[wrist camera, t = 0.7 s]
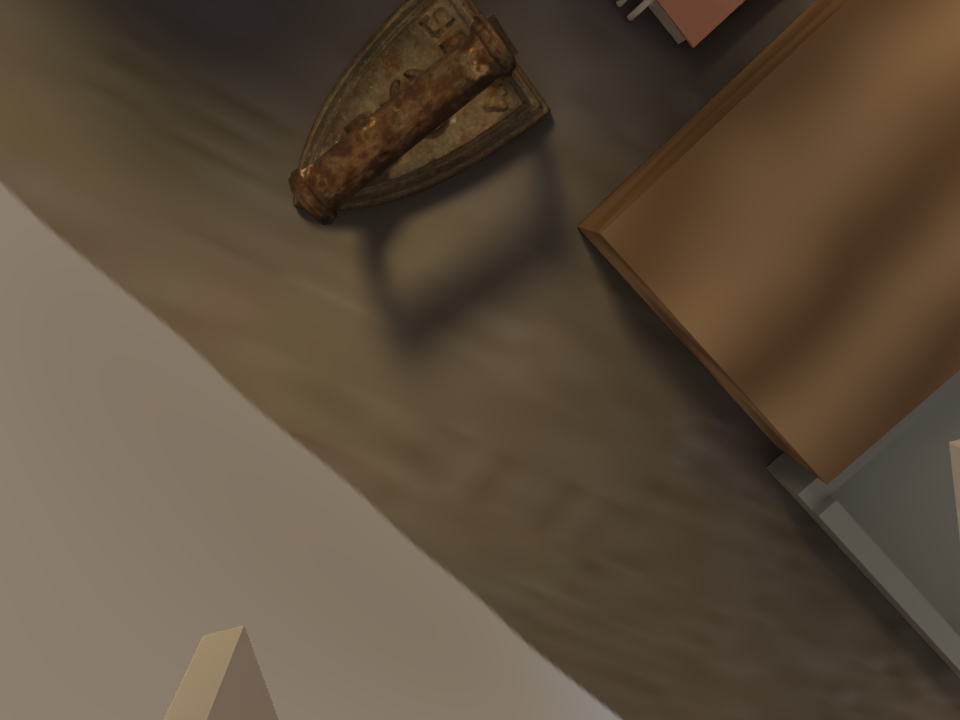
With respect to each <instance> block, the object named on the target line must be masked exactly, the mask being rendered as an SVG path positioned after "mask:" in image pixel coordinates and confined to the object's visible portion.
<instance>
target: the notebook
mask: <svg viewBox="0 0 960 720" xmlns="http://www.w3.org/2000/svg"><path fill="white" fill-rule="evenodd" d="M626 1H627V0H618V1H617V2H616V4H617V6H618V7H621V6H622V5H623V4H624V3H625V2H626ZM744 1H745V0H643V2H642V3H641V4H639V5H638V6H637V7H636V8H635V9H634V10H633V11H632V12H631V13H630V14H629V15H627V18H628V20H630V21H632V20H633V19H634V18H635V17H637V16H638V15H639V14H640V13H641V12H642V11H643V10H644V9H645V8H646V7H649V8H650V9H651V11H652V12H653V13H654V14H655V16H656V17H657V18H658V20H659V21H660V22H661V23H662V25H663V26H664V27H665V28H666V30H667V31H668V32H669V33H670V35H671V36H672V37H673V39H674V40H675V41H676V42H677V44H679V43H681V42H683V41H685V40H687V42H688V43H689V44H690V45H691V47H692V48H694V47H695V46H696V45H697V44H698V43H699V42H700V41H702V40H703V39H704V38H705V37H706V36H707V35H708V34H709V33H710V32H711V31H712V30H713V29H715V28H716V27H717V26H718V25H719V24H720V23H721V22H722V21H723V20H724V19H725V18H726V17H728V16H729V15H730V14H731V13H732V12H733V11H734V10H735V9H736V8H737V7H738V6H739V5H741V4H742V3H743V2H744Z"/></svg>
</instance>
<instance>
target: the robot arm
mask: <svg viewBox="0 0 960 720" xmlns="http://www.w3.org/2000/svg"><path fill="white" fill-rule="evenodd" d="M949 447H950V456H951V465H952V474H953V482H954V491H955V500H956V509H957V518H958V527H959V536H960V439H959V440H955V441H951V442H949ZM163 720H278V717H277V714H276V711H275V709H274V706H273V703H272V700H271V698H270V695H269V692H268V689H267V687H266V684H265V681H264V679H263V676H262V673H261V670H260V667H259V665H258V662H257V659H256V657H255V654H254V651H253V648H252V645H251V643H250V640H249V637H248V635H247V632H246V629H245V626H244V625H242V626H239V627H234V628H231V629H227V630H223V631H219V632H215V633H212V634H208V635H204V636H202V639H201V641H200V643H199V645H198V647H197V649H196V651H195V653H194V656H193V658H192V660H191V662H190V664H189V666H188V668H187V670H186V673H185V675H184V677H183V679H182V681H181V683H180V685H179V688H178V690H177V692H176V694H175V696H174V698H173V700H172V702H171V704H170V707H169V709H168V711H167V713H166V715H165V717H164V719H163Z"/></svg>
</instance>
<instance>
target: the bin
mask: <svg viewBox="0 0 960 720" xmlns="http://www.w3.org/2000/svg"><path fill="white" fill-rule="evenodd" d="M959 439H960V370H959V371H958V372H957V373H955V374H954V375H953V376H952V377H951V378H950V379H949V380H947V381H946V382H945V383H944V384H943V385H942V386H940V387H939V388H938V389H937V390H936V391H935V392H934V393H932V394H931V395H930V396H929V397H928V398H927V399H925V400H924V401H923V402H922V403H921V404H920V405H919V406H917V407H916V408H915V409H914V410H913V411H912V412H910V413H909V414H908V415H907V416H906V417H905V418H904V419H902V420H901V421H900V422H899V423H898V424H897V425H895V426H894V427H893V428H892V429H891V430H890V431H889V432H887V433H886V434H885V435H884V436H883V437H882V438H880V439H879V440H878V441H877V442H876V443H875V444H874V445H872V446H871V447H870V448H869V449H868V450H867V451H865V452H864V453H863V454H862V455H861V456H860V457H859V458H857V459H856V460H855V461H854V462H853V463H852V464H850V465H849V466H848V467H847V468H846V469H845V470H844V471H842V472H841V473H840V474H839V475H838V476H837V477H835V478H834V479H833V480H832V481H831V482H830V483H829V484H827V485H826V484H825V483H824V482H822V481H821V480H820V479H819V478H817V477H816V476H815V475H813V474H812V473H811V472H809V471H808V470H807V469H805V468H804V467H803V466H801V465H800V464H799V463H797V462H796V461H795V460H794V459H792V458H791V457H790V456H788V455H787V454H786V453H784V452H783V453H782V454H781V455H780V456H779V457H778V458H777V459H775V460H774V461H773V462H772V463H771V464H770V465H769V466H768V467H766V468H767V469H768V471H769V472H770V473H771V474H772V475H773V476H774V477H775V478H776V479H777V480H778V481H779V483H780V484H781V485H782V486H783V487H784V488H785V489H786V490H787V491H788V492H789V493H790V495H791V496H792V497H793V498H794V499H795V500H796V501H797V502H798V503H799V504H800V505H801V507H802V508H803V509H804V510H805V511H806V512H807V513H808V514H809V515H810V516H811V517H812V519H813V520H814V521H815V522H816V523H817V524H818V525H819V526H820V527H821V528H822V529H823V531H824V532H825V533H826V534H827V535H828V536H829V537H830V538H831V539H832V540H833V541H834V543H835V544H836V545H837V546H838V547H839V548H840V549H841V550H842V551H843V552H844V553H845V555H846V556H847V557H848V558H849V559H850V560H851V561H852V562H853V563H854V564H855V565H856V567H857V568H858V569H859V570H860V571H861V572H862V573H863V574H864V575H865V576H866V577H867V579H868V580H869V581H870V582H871V583H872V584H873V585H874V586H875V587H876V588H877V589H878V591H879V592H880V593H881V594H882V595H883V596H884V597H885V598H886V599H887V600H888V601H889V602H890V604H891V605H892V606H893V607H894V608H895V609H896V610H897V611H898V612H899V613H900V614H901V616H902V617H903V618H904V619H905V620H906V621H907V622H908V623H909V624H910V625H911V626H912V628H913V629H914V630H915V631H916V632H917V633H918V634H919V635H920V636H921V637H922V638H923V640H924V641H925V642H926V643H927V644H928V645H929V646H930V647H931V648H932V649H933V650H934V652H935V653H936V654H937V655H938V656H939V657H940V658H941V659H942V660H943V661H944V662H945V664H946V665H947V666H948V667H949V668H950V669H951V670H952V671H953V672H954V673H955V674H956V675H957V676H958V677H959V678H960V536H959V527H958V518H957V509H956V500H955V491H954V482H953V474H952V465H951V456H950V447H949V442H951V441H955V440H959Z"/></svg>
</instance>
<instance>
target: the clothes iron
mask: <svg viewBox="0 0 960 720" xmlns="http://www.w3.org/2000/svg"><path fill="white" fill-rule="evenodd" d="M517 53H518V51H517V50H516V48H515V47H514V45H513V44H512V42H511V40H510V39H509V37H508V36H507V34H506V33H505V31H504V30H503V29H502V27H501V25H500V24H499V22H498V20H497V19H496V17H495V15H494V16H491V17H490V18H488V19H486V18H485V17H484V15H483V14H481V13H480V11H479V10H478V9H477V7H476V6H475V5H474V3H473V2H472V0H407V1H406V2H405V3H404V4H403V5H402V6H401V7H400V8H399V9H397V10H396V11H395V12H394V13H393V14H392V15H391V16H390V17H389V18H388V19H387V20H386V21H385V22H384V24H383V25H382V26H381V27H380V28H379V29H378V30H377V31H376V32H375V33H374V34H373V35H372V37H371V38H370V39H369V40H368V41H367V42H366V44H365V45H364V46H363V47H362V48H361V50H360V51H359V52H358V53H357V55H356V56H355V57H354V58H353V60H352V61H351V63H350V64H349V65H348V67H347V68H346V70H345V71H344V72H343V74H342V75H341V77H340V78H339V80H338V81H337V83H336V84H335V86H334V87H333V89H332V91H331V92H330V94H329V96H328V97H327V99H326V101H325V103H324V105H323V106H322V108H321V110H320V112H319V114H318V116H317V118H316V120H315V122H314V124H313V127H312V129H311V131H310V134H309V136H308V139H307V141H306V144H305V147H304V150H303V152H302V155H301V159H300V163H299V167H298V170H297V169H296V170H295V171H293V172H292V173H291V177H290V178H289V184H290V187H291V190H292V192H293V194H294V201H293V203H294V207H298V208H303V209H306V210H307V211H308V212H309V213H310V214H311V215H312V216H313V217H314V218H315V219H316V220H317V221H318V222H319V223H321V224H323V225H327V224H332V223H333V221H334V220H335V219H336V217H337V213H336V210H349V209H357V208H363V207H368V206H373V205H378V204H383V203H386V202H389V201H392V200H396V199H399V198H402V197H405V196H409V195H412V194H414V193H417V192H419V191H422V190H425V189H427V188H429V187H431V186H433V185H435V184H438V183H440V182H442V181H444V180H446V179H448V178H450V177H452V176H454V175H456V174H458V173H460V172H462V171H464V170H465V169H467V168H469V167H470V166H472V165H473V164H475V163H477V162H479V161H481V160H482V159H484V158H485V157H487V156H489V155H490V154H492V153H493V152H495V151H497V150H498V149H500V148H501V147H502V146H504V145H505V144H507V143H508V142H510V141H511V140H513V139H514V138H516V137H517V136H518V135H520V134H521V133H523V132H524V131H526V130H527V129H528V128H530V127H531V126H532V125H534V124H535V123H536V122H538V121H539V120H541V119H542V118H543V117H545V116H546V115H547V114H548V113H549V111H550V109H549V107H548V106H547V104H546V103H545V101H544V100H543V98H542V97H541V96H540V94H539V93H538V91H537V90H536V89H535V87H534V86H533V85H532V83H531V82H530V80H529V79H528V78H527V76H526V75H525V73H524V72H523V71H522V69H521V68H520V66H519V65H518V64H517V62H516V61H515V58H514V57H515V55H516V54H517Z"/></svg>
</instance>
